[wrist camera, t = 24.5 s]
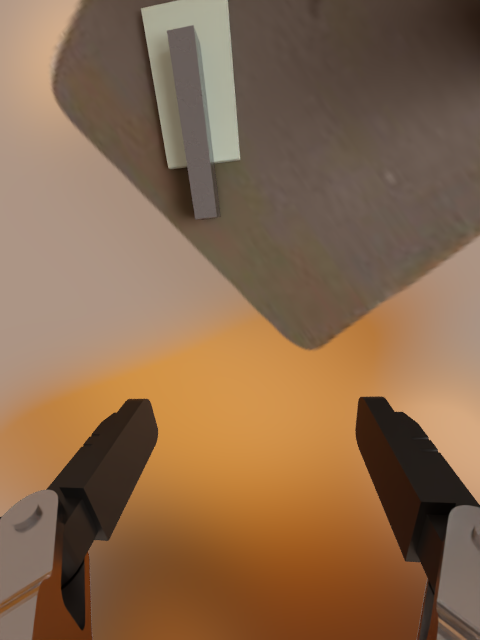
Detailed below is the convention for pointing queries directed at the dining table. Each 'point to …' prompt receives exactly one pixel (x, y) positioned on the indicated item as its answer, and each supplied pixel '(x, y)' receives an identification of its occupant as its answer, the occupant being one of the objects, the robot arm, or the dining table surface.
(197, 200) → the long grey plank
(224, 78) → the mat
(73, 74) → the dining table surface
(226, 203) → the dining table surface
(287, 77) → the dining table surface
